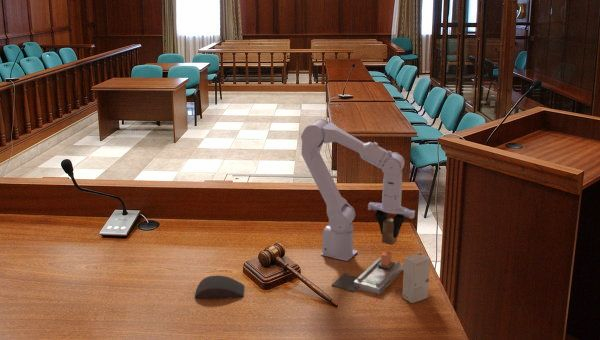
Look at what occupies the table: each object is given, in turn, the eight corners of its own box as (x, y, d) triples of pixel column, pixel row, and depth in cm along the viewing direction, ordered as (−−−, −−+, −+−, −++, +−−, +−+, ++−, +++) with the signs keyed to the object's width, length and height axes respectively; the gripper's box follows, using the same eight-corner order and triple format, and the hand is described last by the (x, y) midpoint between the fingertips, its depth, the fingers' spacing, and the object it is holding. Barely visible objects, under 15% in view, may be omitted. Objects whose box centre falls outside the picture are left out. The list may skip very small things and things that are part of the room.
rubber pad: (331, 285, 176) (331, 284, 176) (344, 274, 183) (344, 273, 183) (353, 291, 173) (353, 290, 173) (365, 280, 180) (365, 279, 179)
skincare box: (412, 303, 167) (415, 263, 163) (401, 297, 170) (403, 257, 167) (428, 297, 170) (431, 258, 166) (417, 291, 174) (420, 252, 170)
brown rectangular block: (381, 242, 189) (383, 220, 187) (386, 238, 192) (387, 216, 190) (392, 245, 187) (393, 222, 185) (396, 241, 190) (398, 219, 188)
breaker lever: (377, 266, 183) (377, 254, 182) (382, 260, 187) (383, 249, 185) (389, 269, 181) (390, 257, 180) (394, 263, 185) (395, 252, 184)
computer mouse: (197, 287, 176) (196, 274, 175) (244, 285, 177) (244, 273, 176) (193, 301, 169) (193, 288, 168) (243, 300, 169) (243, 287, 168)
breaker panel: (353, 288, 175) (353, 279, 174) (378, 263, 190) (379, 255, 189) (379, 295, 171) (379, 286, 170) (403, 269, 186) (403, 261, 185)
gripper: (419, 194, 184) (416, 235, 188) (375, 185, 191) (373, 225, 195) (411, 201, 178) (408, 243, 183) (365, 192, 186) (364, 233, 190)
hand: (389, 235), depth 189 cm, fingers closed on brown rectangular block, 3 cm apart
